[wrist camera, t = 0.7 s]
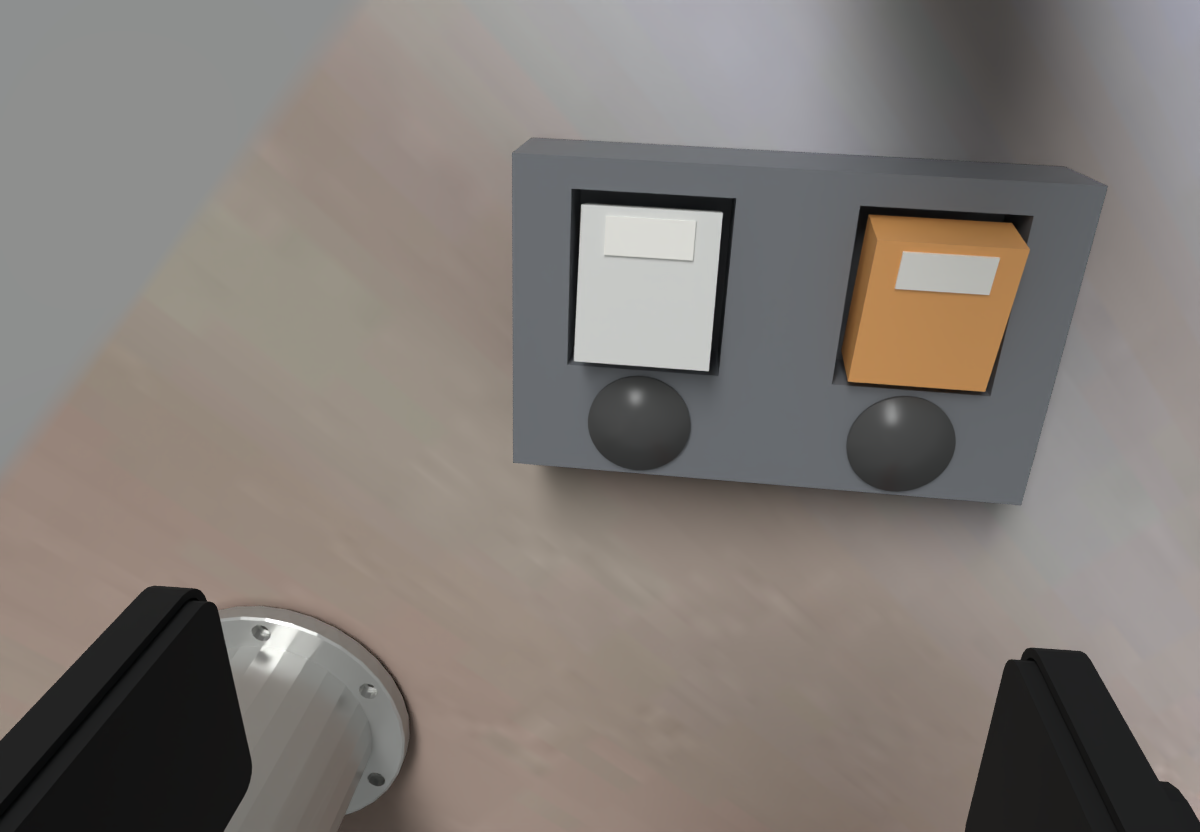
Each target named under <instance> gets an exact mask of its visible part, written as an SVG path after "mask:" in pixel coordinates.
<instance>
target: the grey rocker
mask: <svg viewBox="0 0 1200 832" xmlns="http://www.w3.org/2000/svg"><path fill="white" fill-rule="evenodd" d="M722 217H723V213H722V212H721V211H715V210H698V209H681V208H665V207H648V206H631V205H615V204H598V203H586V204H581V224H580V244H579V265H578V285H577V306H576V326H575V347H574V361H577V362H591V363H604V364H618V365H631V366H645V367H658V368H672V369H685V370H699V371H709V363H710V352H711V341H712V330H713V318H714V307H715V296H716V284H717V273H718V262H719V250H720V239H721V228H722Z"/></svg>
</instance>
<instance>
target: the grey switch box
mask: <svg viewBox="0 0 1200 832" xmlns="http://www.w3.org/2000/svg"><path fill="white" fill-rule="evenodd" d="M1107 188H1108V186H1107V185H1104V184H1102V183H1100V182H1098V181H1096V180H1093V179H1091V178H1089V177H1087V176H1085V175H1083V174H1080V173H1078V172H1076V171H1074V170H1072V169H1069V168H1067V167H1063V166H1044V165H1026V164H1007V163H989V162H971V161H952V160H934V159H915V158H897V157H879V156H860V155H842V154H823V153H805V152H787V151H768V150H750V149H732V148H713V147H695V146H676V145H658V144H640V143H621V142H603V141H584V140H566V139H548V138H530V139H529V140H528V141H527V142H525V143H524V144H523V145H521V146H520V147H519V148H518V149H516V150H515V151H514V152H513V153H512V258H513V463H522V464H534V465H546V466H558V467H570V468H582V469H594V470H606V471H618V472H630V473H642V474H653V475H665V476H677V477H689V478H701V479H713V480H725V481H737V482H749V483H761V484H773V485H785V486H797V487H809V488H821V489H833V490H845V491H857V492H869V493H881V494H893V495H905V496H917V497H929V498H941V499H953V500H965V501H977V502H988V503H1000V504H1012V505H1021V504H1022V500H1023V497H1024V493H1025V489H1026V486H1027V482H1028V478H1029V475H1030V471H1031V467H1032V464H1033V460H1034V456H1035V452H1036V449H1037V445H1038V441H1039V438H1040V434H1041V430H1042V427H1043V423H1044V419H1045V416H1046V412H1047V408H1048V405H1049V401H1050V397H1051V394H1052V390H1053V386H1054V383H1055V379H1056V375H1057V372H1058V368H1059V364H1060V360H1061V357H1062V353H1063V349H1064V346H1065V342H1066V338H1067V335H1068V331H1069V327H1070V324H1071V320H1072V316H1073V313H1074V309H1075V305H1076V302H1077V298H1078V294H1079V291H1080V287H1081V283H1082V280H1083V276H1084V272H1085V269H1086V265H1087V261H1088V257H1089V254H1090V250H1091V246H1092V243H1093V239H1094V235H1095V232H1096V228H1097V224H1098V221H1099V217H1100V213H1101V210H1102V206H1103V202H1104V199H1105V195H1106V191H1107ZM586 203H598V204H615V205H631V206H648V207H665V208H681V209H698V210H715V211H721V212H722V213H723V217H722V228H721V239H720V250H719V262H718V273H717V284H716V296H715V307H714V318H713V330H712V341H711V352H710V363H709V371H699V370H685V369H672V368H658V367H645V366H631V365H618V364H604V363H591V362H577V361H574V347H575V326H576V306H577V285H578V265H579V244H580V224H581V204H586ZM869 214H871V215H887V216H904V217H921V218H938V219H955V220H972V221H988V222H1005V223H1012V224H1013V225H1014V226H1015V228H1016V229H1017V231H1018V232H1019V234H1020V235H1021V237H1022V238H1023V240H1024V241H1025V243H1026V244H1027V246H1028V247H1029V249H1030V251H1029V255H1028V258H1027V261H1026V264H1025V267H1024V270H1023V274H1022V277H1021V280H1020V283H1019V286H1018V289H1017V293H1016V296H1015V299H1014V302H1013V305H1012V308H1011V312H1010V315H1009V318H1008V321H1007V324H1006V327H1005V331H1004V334H1003V337H1002V340H1001V343H1000V346H999V350H998V353H997V356H996V359H995V362H994V365H993V369H992V372H991V375H990V378H989V381H988V384H987V388H986V391H985V392H981V391H968V390H954V389H941V388H927V387H914V386H900V385H887V384H873V383H860V382H848V380H847V375H846V370H845V366H844V361H843V357H842V352H841V350H842V345H843V340H844V335H845V330H846V325H847V320H848V315H849V310H850V305H851V300H852V295H853V290H854V285H855V280H856V275H857V270H858V265H859V260H860V255H861V250H862V245H863V240H864V235H865V230H866V225H867V220H868V215H869Z"/></svg>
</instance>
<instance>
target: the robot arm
mask: <svg viewBox="0 0 1200 832" xmlns="http://www.w3.org/2000/svg"><path fill="white" fill-rule="evenodd" d="M409 738H410V730H409V716H408V713H407V710H406V706H405V703H404V700H403V697H402V695H401V693H400V691H399V689H398V688H397V686H396V684H395V682H394V680H393V678H392V677H391V676H390V674H389V673H388V672H387V671H386V670H385V668H384V667H383V666H382V665H381V663H380V662H379V661H378V660H377V659H376V658H375V657H374V656H373V655H372V654H371V653H370V652H369V651H367V650H366V649H365V648H364V647H363V646H362V645H361V644H360V643H358V642H357V641H355V640H354V639H352V638H351V637H349V636H348V635H346V634H345V633H343V632H342V631H340V630H339V629H337V628H335V627H333V626H331V625H329V624H326V623H324V622H322V621H320V620H318V619H316V618H313V617H311V616H307V615H304V614H300V613H297V612H294V611H290V610H287V609H280V608H273V607H265V606H239V607H232V608H227V609H222V610H218V609H217V606H216V605H215V604H214V603H212V602H207V600H206V598H205V595H204V594H203V593H202V592H201V591H200V590H198V589H193V588H179V587H165V586H151V587H148V588H146V589H145V590H144V591H143V592H141V593H140V594H139V595H138V597H137V598H136V599H135V600H134V601H133V602H132V603H131V604H130V605H129V606H128V607H127V608H126V609H125V610H124V611H123V612H122V613H121V614H120V615H119V617H118V618H117V619H116V620H115V621H114V622H113V623H112V624H111V625H110V626H109V627H108V628H107V629H106V630H105V631H104V632H103V633H102V634H101V635H100V637H99V638H98V639H97V640H96V641H95V642H94V643H93V644H92V645H91V646H90V647H89V648H88V649H87V650H86V651H85V652H84V653H83V654H82V655H81V657H80V658H79V659H78V660H77V661H76V662H75V663H74V664H73V665H72V666H71V667H70V668H69V669H68V670H67V671H66V672H65V673H64V674H63V675H62V677H61V678H60V679H59V680H58V681H57V682H56V683H55V684H54V685H53V686H52V687H51V688H50V689H49V690H48V691H47V692H46V693H45V694H44V695H43V697H42V698H41V699H40V700H39V701H38V702H37V703H36V704H35V705H34V706H33V707H32V708H31V709H30V710H29V711H28V712H27V713H26V714H25V715H24V717H23V718H22V719H21V720H20V721H19V722H18V723H17V724H16V725H15V726H14V727H13V728H12V729H11V730H10V731H9V732H8V733H7V734H6V735H5V737H4V738H3V739H2V740H1V741H0V832H337V831H338V829H339V827H340V825H341V822H342V820H343V818H344V816H345V815H347V814H350V813H353V812H356V811H359V810H361V809H362V808H364V807H366V806H368V805H369V804H371V803H373V802H375V801H376V800H377V799H378V798H379V797H380V796H381V795H383V794H384V793H385V792H386V791H387V790H388V789H389V788H390V786H391V785H392V783H393V782H394V780H395V778H396V777H397V775H398V774H399V771H400V769H401V766H402V764H403V761H404V759H405V756H406V754H407V749H408V743H409ZM965 832H1200V822H1199V820H1198V818H1197V817H1196V815H1195V813H1194V812H1193V810H1192V808H1191V806H1190V805H1189V803H1188V802H1187V800H1186V799H1185V798H1184V796H1183V795H1182V794H1181V792H1180V791H1179V790H1178V789H1177V788H1176V787H1174V786H1173V785H1172V784H1170V783H1169V782H1162V781H1159V780H1158V778H1157V777H1156V775H1155V773H1154V771H1153V770H1152V768H1151V766H1150V764H1149V762H1148V761H1147V759H1146V757H1145V755H1144V754H1143V752H1142V750H1141V748H1140V747H1139V745H1138V743H1137V741H1136V739H1135V738H1134V736H1133V734H1132V732H1131V731H1130V729H1129V727H1128V725H1127V724H1126V722H1125V720H1124V718H1123V716H1122V715H1121V713H1120V711H1119V709H1118V708H1117V706H1116V704H1115V702H1114V701H1113V699H1112V697H1111V695H1110V694H1109V692H1108V690H1107V688H1106V686H1105V685H1104V683H1103V681H1102V679H1101V678H1100V676H1099V674H1098V672H1097V671H1096V669H1095V667H1094V665H1093V663H1092V662H1091V660H1090V659H1089V657H1088V656H1087V655H1086V654H1085V653H1083V652H1081V651H1071V650H1057V649H1043V648H1028V649H1026V650H1025V651H1024V653H1023V654H1022V657H1021V660H1012V659H1011V660H1008V661H1007V663H1006V665H1005V667H1004V671H1003V675H1002V679H1001V683H1000V687H999V691H998V695H997V699H996V703H995V707H994V712H993V716H992V720H991V724H990V728H989V732H988V736H987V740H986V744H985V749H984V753H983V757H982V761H981V765H980V769H979V773H978V777H977V781H976V785H975V790H974V794H973V798H972V802H971V806H970V810H969V814H968V818H967V822H966V828H965Z"/></svg>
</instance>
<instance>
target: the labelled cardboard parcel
mask: <svg viewBox="0 0 1200 832" xmlns="http://www.w3.org/2000/svg"><path fill="white" fill-rule="evenodd" d="M1029 251H1030V249H1029V247H1028V246H1027V244H1026V243H1025V241H1024V240H1023V238H1022V237H1021V235H1020V234H1019V232H1018V231H1017V229H1016V228H1015V226H1014V225H1013V224H1012V223H1005V222H988V221H972V220H955V219H938V218H921V217H904V216H887V215H871V214H869V215H868V220H867V225H866V230H865V235H864V240H863V245H862V250H861V255H860V260H859V265H858V270H857V275H856V280H855V285H854V290H853V295H852V300H851V305H850V310H849V315H848V320H847V325H846V330H845V335H844V340H843V345H842V350H841V352H842V357H843V361H844V366H845V370H846V375H847V380H848V382H860V383H873V384H887V385H900V386H914V387H927V388H941V389H954V390H968V391H981V392H985V391H986V388H987V384H988V381H989V378H990V375H991V372H992V369H993V365H994V362H995V359H996V356H997V353H998V350H999V346H1000V343H1001V340H1002V337H1003V334H1004V331H1005V327H1006V324H1007V321H1008V318H1009V315H1010V312H1011V308H1012V305H1013V302H1014V299H1015V296H1016V293H1017V289H1018V286H1019V283H1020V280H1021V277H1022V274H1023V270H1024V267H1025V264H1026V261H1027V258H1028V255H1029Z"/></svg>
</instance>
